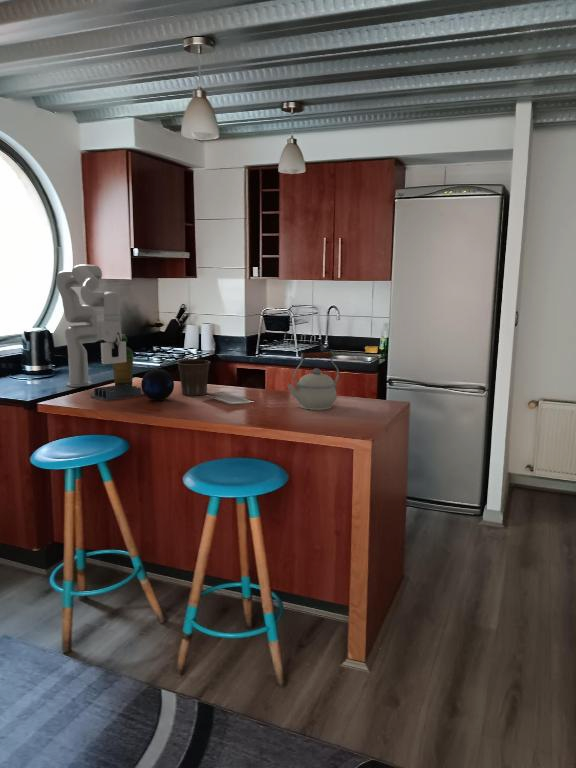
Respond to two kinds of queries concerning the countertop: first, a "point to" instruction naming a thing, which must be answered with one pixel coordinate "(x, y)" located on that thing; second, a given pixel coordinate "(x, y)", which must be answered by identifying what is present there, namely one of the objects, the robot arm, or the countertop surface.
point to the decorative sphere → (157, 384)
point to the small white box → (107, 353)
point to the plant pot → (193, 376)
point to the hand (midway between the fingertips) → (114, 356)
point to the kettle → (315, 386)
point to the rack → (116, 392)
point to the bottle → (124, 368)
